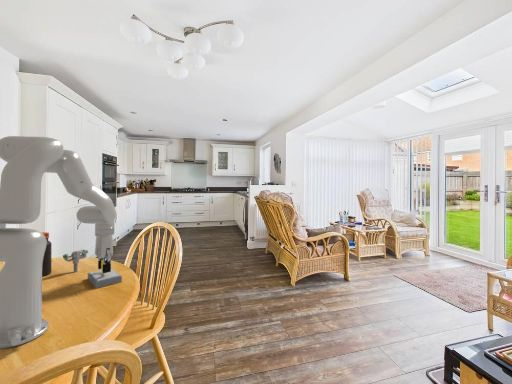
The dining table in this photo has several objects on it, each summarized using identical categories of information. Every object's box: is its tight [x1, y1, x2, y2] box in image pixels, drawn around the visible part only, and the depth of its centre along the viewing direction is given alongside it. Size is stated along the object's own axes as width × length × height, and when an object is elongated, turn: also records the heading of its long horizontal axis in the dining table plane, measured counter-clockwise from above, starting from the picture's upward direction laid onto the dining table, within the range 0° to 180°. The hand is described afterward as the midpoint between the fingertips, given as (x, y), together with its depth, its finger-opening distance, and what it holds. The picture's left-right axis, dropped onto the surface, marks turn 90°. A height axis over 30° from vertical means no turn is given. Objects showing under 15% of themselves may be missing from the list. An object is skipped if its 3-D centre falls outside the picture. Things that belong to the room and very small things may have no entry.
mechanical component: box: [62, 249, 89, 273], centre depth 119 cm, size 3×10×10 cm, turn 152°
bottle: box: [42, 231, 52, 277], centre depth 114 cm, size 7×7×20 cm
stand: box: [87, 267, 123, 289], centre depth 110 cm, size 14×10×3 cm
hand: (104, 270), depth 110 cm, fingers closed on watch, 6 cm apart
